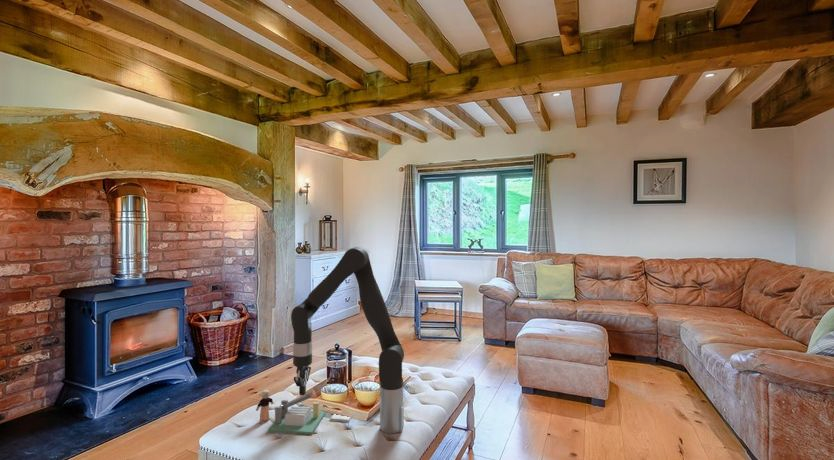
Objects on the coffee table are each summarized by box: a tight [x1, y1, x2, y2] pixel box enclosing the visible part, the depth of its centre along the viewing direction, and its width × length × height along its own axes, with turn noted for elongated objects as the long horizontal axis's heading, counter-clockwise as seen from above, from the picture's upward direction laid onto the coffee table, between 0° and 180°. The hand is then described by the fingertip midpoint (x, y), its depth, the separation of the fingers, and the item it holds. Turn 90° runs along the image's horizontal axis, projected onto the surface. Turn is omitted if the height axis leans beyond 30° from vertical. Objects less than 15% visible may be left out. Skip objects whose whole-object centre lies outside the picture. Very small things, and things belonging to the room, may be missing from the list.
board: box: [267, 399, 326, 435], centre depth 159 cm, size 18×16×8 cm
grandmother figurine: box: [255, 389, 275, 424], centre depth 161 cm, size 8×4×13 cm, turn 153°
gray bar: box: [278, 389, 314, 410], centre depth 159 cm, size 16×4×2 cm, turn 84°
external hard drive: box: [329, 413, 352, 423], centre depth 167 cm, size 2×8×12 cm
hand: (302, 394), depth 159 cm, fingers closed
